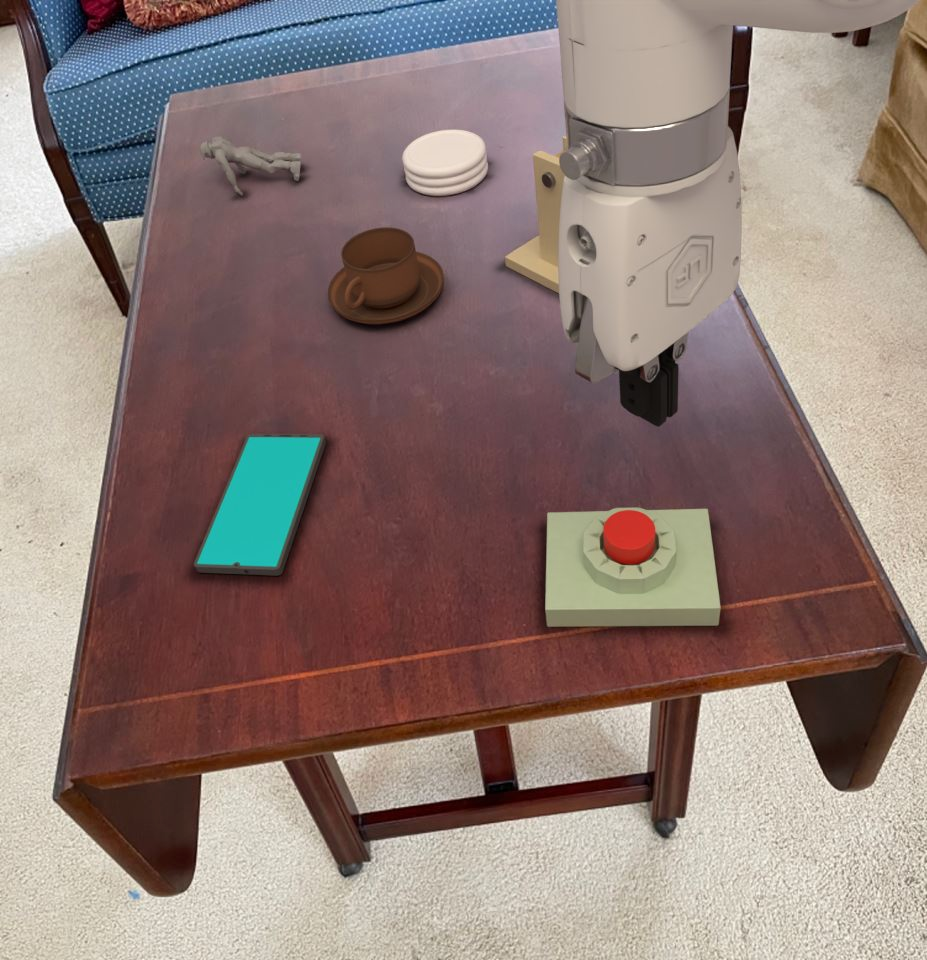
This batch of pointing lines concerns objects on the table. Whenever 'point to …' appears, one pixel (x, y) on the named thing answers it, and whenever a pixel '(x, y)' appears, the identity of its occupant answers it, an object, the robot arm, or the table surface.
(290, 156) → the soldier figurine
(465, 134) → the coaster
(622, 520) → the button
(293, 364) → the table surface
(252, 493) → the smartphone
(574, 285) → the robot arm
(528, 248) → the bracket
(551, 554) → the button block
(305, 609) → the table surface
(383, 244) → the cup and saucer
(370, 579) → the table surface
